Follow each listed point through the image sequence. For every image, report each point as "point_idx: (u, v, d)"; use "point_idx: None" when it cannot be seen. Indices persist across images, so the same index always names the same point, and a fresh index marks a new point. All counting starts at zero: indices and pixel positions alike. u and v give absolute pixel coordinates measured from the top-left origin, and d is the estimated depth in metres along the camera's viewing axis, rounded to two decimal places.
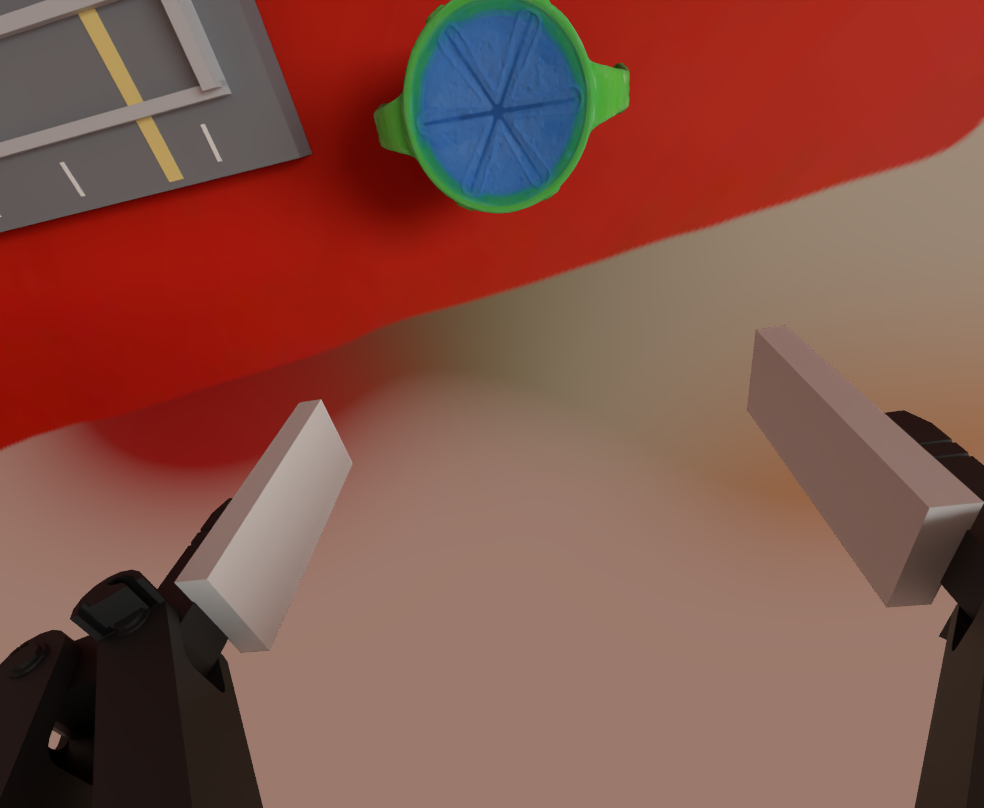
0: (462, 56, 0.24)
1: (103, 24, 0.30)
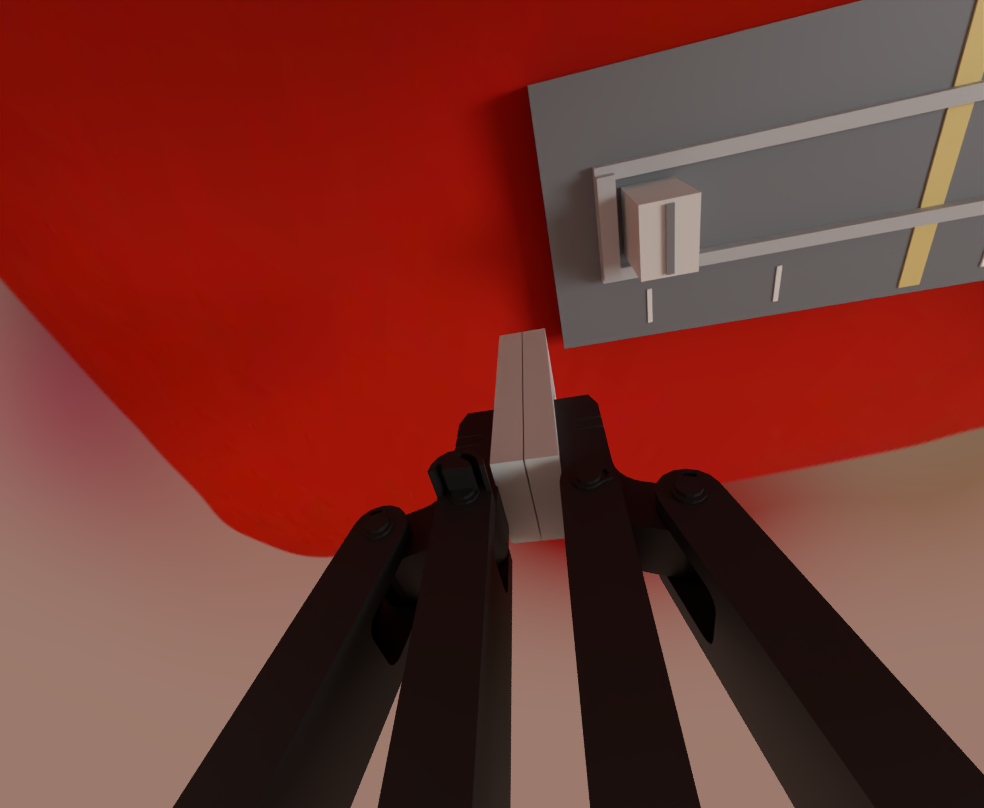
0: None
1: (970, 117, 0.25)
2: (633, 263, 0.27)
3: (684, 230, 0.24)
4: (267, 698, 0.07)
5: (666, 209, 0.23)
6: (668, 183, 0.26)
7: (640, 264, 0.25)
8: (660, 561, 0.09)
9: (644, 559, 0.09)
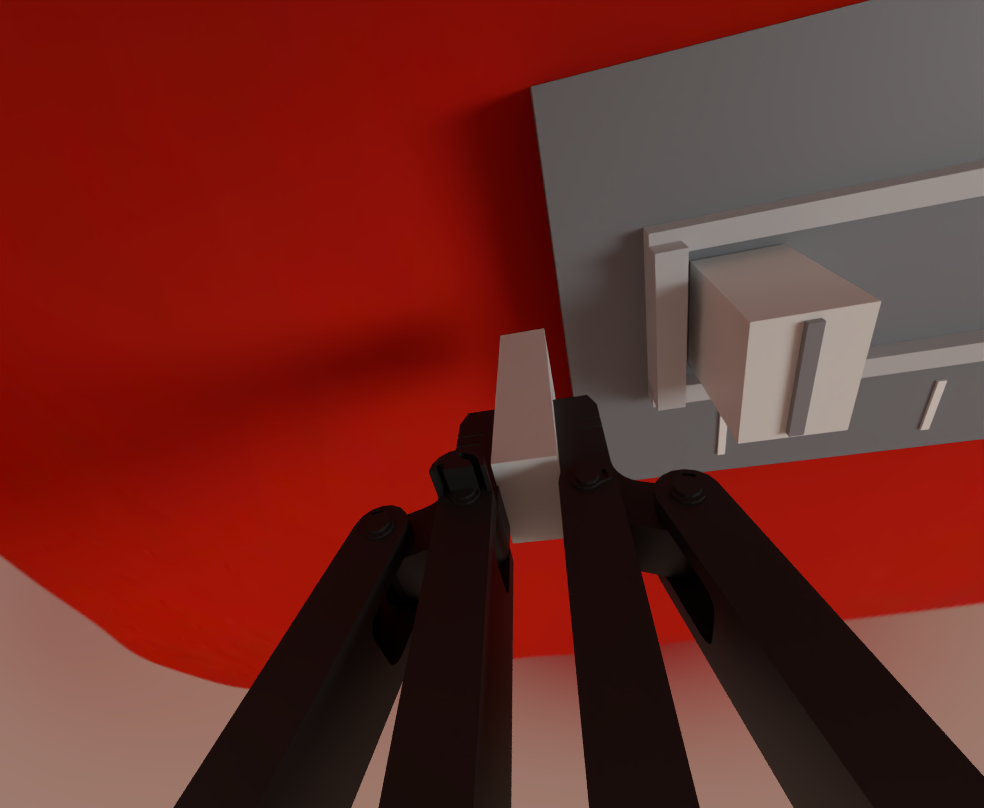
0: None
1: None
2: (715, 396, 0.15)
3: (834, 364, 0.12)
4: (268, 698, 0.07)
5: (806, 332, 0.12)
6: (784, 262, 0.14)
7: (739, 416, 0.14)
8: (658, 561, 0.09)
9: (643, 559, 0.09)
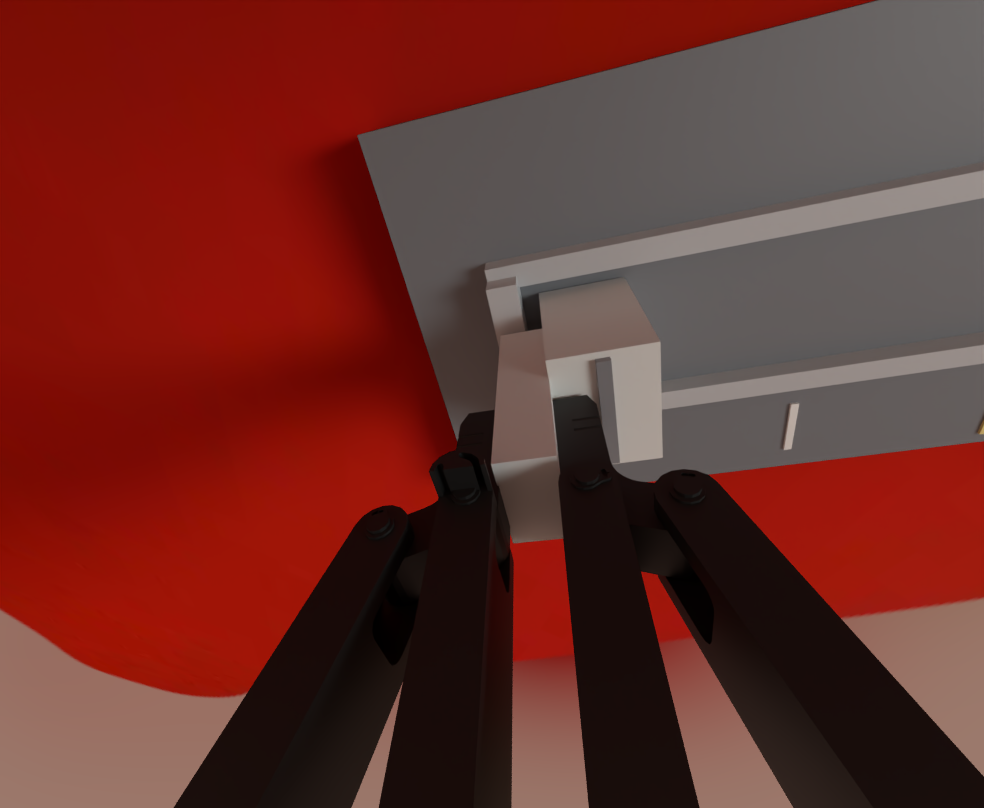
0: None
1: None
2: None
3: (633, 398, 0.13)
4: (268, 698, 0.07)
5: (596, 370, 0.12)
6: (611, 297, 0.15)
7: None
8: (658, 562, 0.09)
9: (643, 560, 0.09)
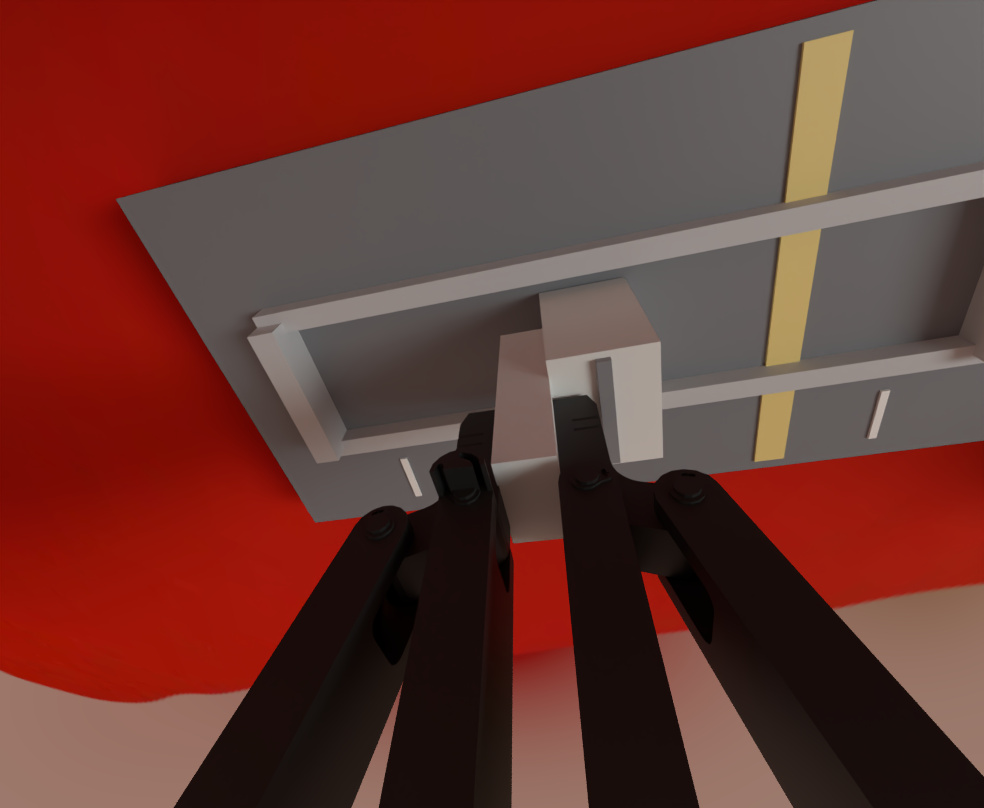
0: None
1: (819, 245, 0.15)
2: None
3: (633, 398, 0.13)
4: (268, 698, 0.07)
5: (596, 369, 0.12)
6: (611, 297, 0.15)
7: None
8: (658, 562, 0.09)
9: (643, 559, 0.09)
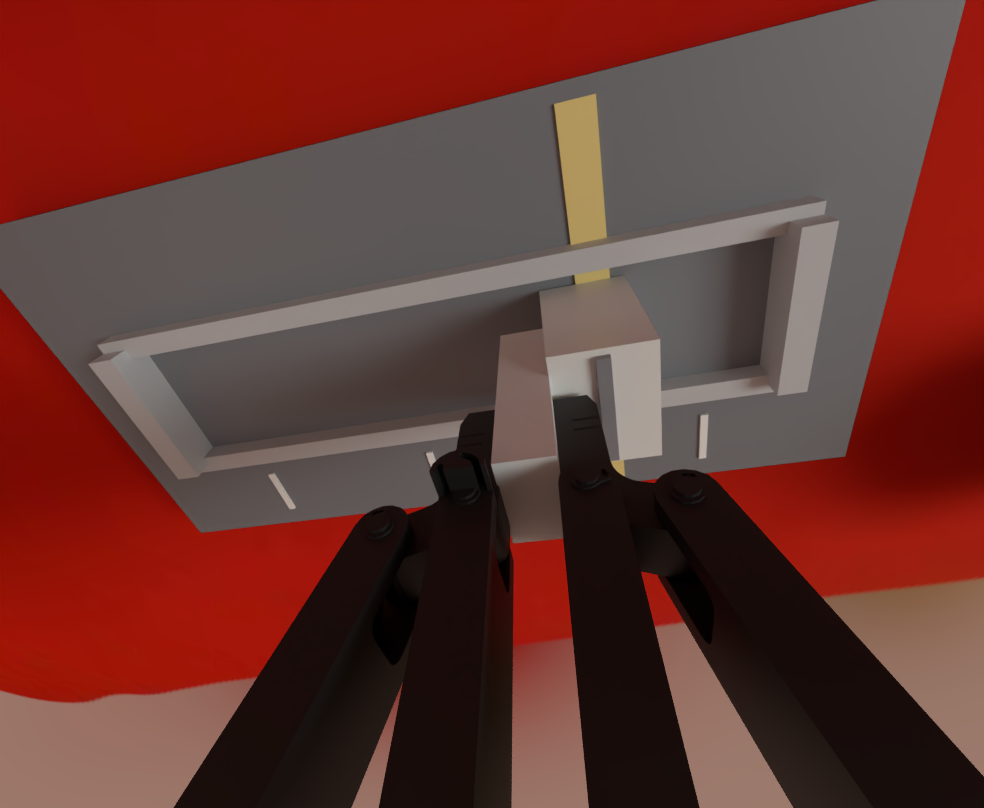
0: None
1: None
2: None
3: (633, 396, 0.13)
4: (268, 698, 0.07)
5: (596, 367, 0.12)
6: (611, 295, 0.15)
7: None
8: (658, 562, 0.09)
9: (643, 560, 0.09)
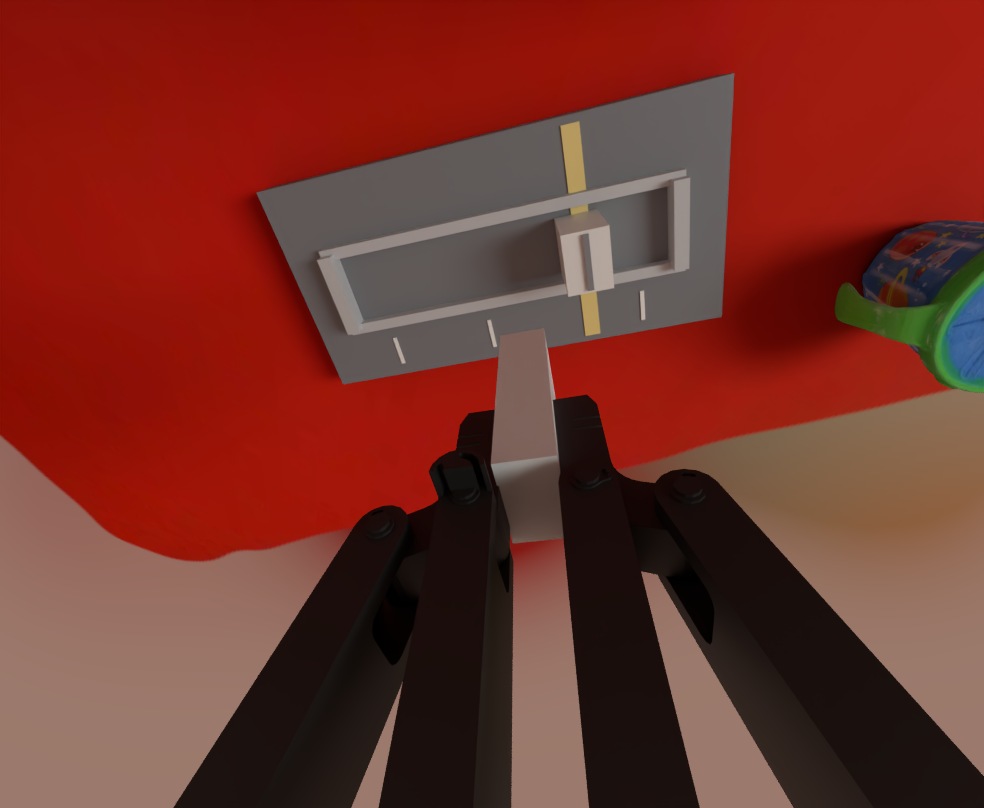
0: None
1: None
2: (564, 281, 0.32)
3: (599, 255, 0.29)
4: (268, 698, 0.07)
5: (582, 239, 0.29)
6: (590, 216, 0.31)
7: (566, 282, 0.30)
8: (658, 562, 0.09)
9: (643, 560, 0.09)
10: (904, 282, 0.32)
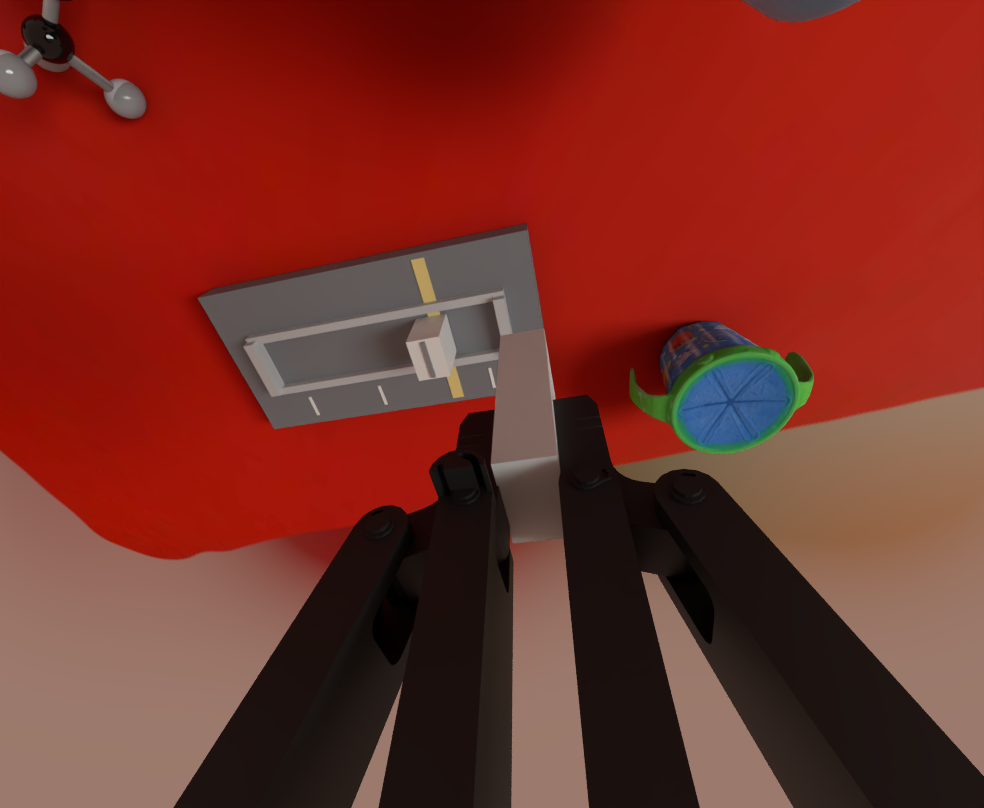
0: (717, 379, 0.39)
1: None
2: None
3: (435, 354, 0.41)
4: (268, 698, 0.07)
5: (421, 345, 0.41)
6: (436, 321, 0.43)
7: (416, 371, 0.42)
8: (658, 562, 0.09)
9: (643, 560, 0.09)
10: (668, 371, 0.44)
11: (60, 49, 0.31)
